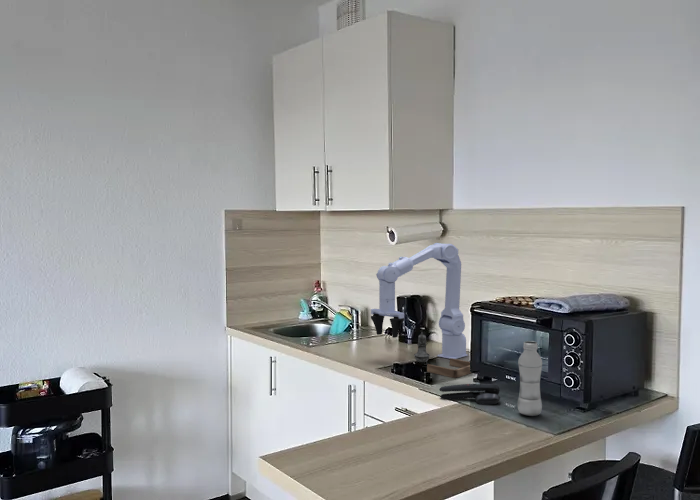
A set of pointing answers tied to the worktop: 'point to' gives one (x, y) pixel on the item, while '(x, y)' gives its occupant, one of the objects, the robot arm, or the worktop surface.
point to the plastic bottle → (530, 380)
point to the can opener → (481, 397)
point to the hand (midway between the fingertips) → (387, 335)
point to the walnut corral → (463, 369)
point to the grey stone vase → (422, 350)
